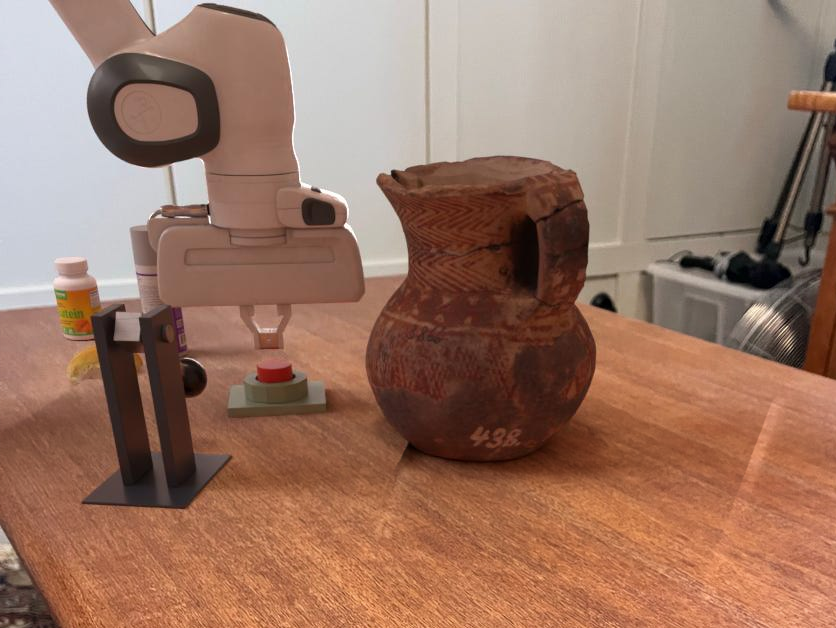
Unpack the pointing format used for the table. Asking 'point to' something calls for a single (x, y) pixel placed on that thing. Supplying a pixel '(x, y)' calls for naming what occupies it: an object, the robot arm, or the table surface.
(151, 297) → the container
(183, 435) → the dark wooden stand
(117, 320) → the ball knob lever
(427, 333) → the jug
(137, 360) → the yellow curved piece
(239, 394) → the switch box
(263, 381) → the button
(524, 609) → the table surface
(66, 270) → the supplement bottle
